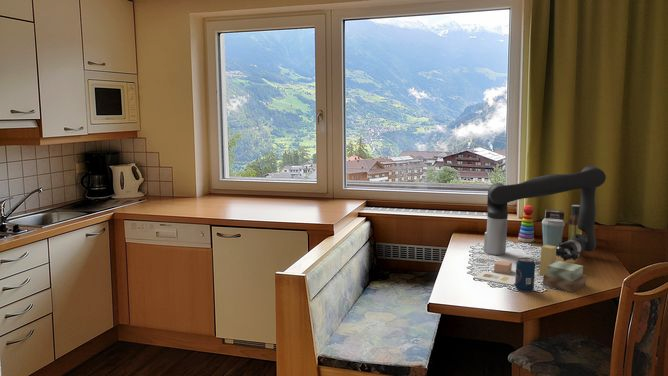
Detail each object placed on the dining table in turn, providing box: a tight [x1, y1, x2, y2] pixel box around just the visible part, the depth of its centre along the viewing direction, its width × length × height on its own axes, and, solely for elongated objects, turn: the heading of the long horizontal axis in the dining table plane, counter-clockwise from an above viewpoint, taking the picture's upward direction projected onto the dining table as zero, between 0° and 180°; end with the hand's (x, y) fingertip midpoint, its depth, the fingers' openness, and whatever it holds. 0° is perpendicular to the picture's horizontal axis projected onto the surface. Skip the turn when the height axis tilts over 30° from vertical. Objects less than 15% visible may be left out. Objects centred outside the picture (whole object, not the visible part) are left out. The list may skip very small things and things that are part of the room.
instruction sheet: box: [473, 270, 516, 286], centre depth 237 cm, size 16×11×1 cm
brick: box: [493, 259, 513, 275], centre depth 246 cm, size 6×6×4 cm
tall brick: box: [539, 245, 557, 276], centre depth 242 cm, size 4×4×12 cm
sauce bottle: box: [567, 204, 583, 241], centre depth 292 cm, size 6×6×20 cm
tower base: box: [542, 260, 587, 293], centre depth 229 cm, size 12×12×8 cm
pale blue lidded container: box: [544, 208, 565, 244], centre depth 297 cm, size 9×6×16 cm
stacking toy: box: [517, 204, 535, 243], centre depth 297 cm, size 8×8×19 cm
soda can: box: [514, 256, 536, 293], centre depth 223 cm, size 7×7×12 cm
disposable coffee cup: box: [541, 218, 566, 248], centre depth 282 cm, size 11×11×15 cm
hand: (554, 256), depth 246 cm, fingers open, 8 cm apart
